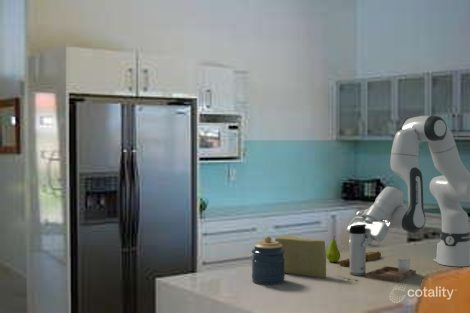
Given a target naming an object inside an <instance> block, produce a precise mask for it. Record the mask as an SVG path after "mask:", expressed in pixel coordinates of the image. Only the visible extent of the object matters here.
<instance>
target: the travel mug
mask: <svg viewBox="0 0 470 313" xmlns="http://www.w3.org/2000/svg"><path fill="white" fill-rule="evenodd" d="M365 225H366V224H364V225H353V226H350V234H349V240H350V243H349V259H350V265H349V274H350V275H352V276H365V273H367V272H366V268H367V267H366V266H367V265H366V264H367V263H366V262H367V261H366V253H367V251H366V248H367V247H366V248H364V247H362V246H361V243H362V242H364V241H365V240H366V238H365Z"/></svg>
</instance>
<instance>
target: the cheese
mask: <svg viewBox="0 0 470 313" xmlns="http://www.w3.org/2000/svg"><path fill="white" fill-rule="evenodd" d="M274 241H277V242H279V243H280V244H282V245H283V246H282V247H281V248H282V249H283V250H284V251H285V253H284V254H283V257H284V259H285V261H284V274H292V275H300V276H305V277H311V276H312V278H320V279H325V278H327V256H326V253H327V251H326V242H325V240H322V239H317V238H316V239H314V238H305V237H303V238H302V237H298V236H294V235H289V234H287V235H286V234H285V235H280V236H277V237H275V238H274Z"/></svg>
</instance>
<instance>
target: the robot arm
mask: <svg viewBox="0 0 470 313" xmlns="http://www.w3.org/2000/svg"><path fill="white" fill-rule="evenodd" d="M425 142H427V144H428V149H429V152H430V155H431V159H432V162H433V165H434V168H435V169H436V170H437V172H439V173H441V175H438V176H435V177H433V178H432V179H431V180H430V182H429V192H430V194H431V195H432V196H433V197H434V199H435V200H436V202H437V204H438V207H439V209H440V210H439V211H440V214H441V215H440V217H441V231H440V235H439V236H440V241H439V242H437V246H436V258H435V257H434V258H433V262H435V263H438V265H443V266H449V267H470V231H469V215H468V213H467V212H466V211H465V210H464V209H463V208H462V205H461V202H463V203H468V202H469V203H470V171H468V169H467V168H466V167H465V165H464V163H463V161H462V159H461V156H460V153H459V150H458V146H457V143H456V140H455V138H454V135H453V134H452V131H451V129H450V127H449V126H448V125H447V124H446V121H445V120H444V118H442V117H441V116H438V115H419V116H414V117H412V116H411V117H407V118H404V119H403V120H401V122H400V123H399V125H398V129H397V132H396V133H395V135H394V137H393V141H392V146H391V153H390V160H389V161H390V169H391V170H392V172H393V173H394V174H395V175H396V176H397V177H399V178H400V179H401V180H403V181H404V182H405V184H406V186H407V201H408V202H407V204H408V205H407V206H405V204H404V198H403V197H404V192H403V190H401V189H399V188H398V187H395V186H390V185H389V186H385V187H384V188H383V189H382V190H381V192H380V193H379V194H378V195H377V196H376V198H375V199H374V200H375V201H374V203H372V204H371V205H370V207H369V208H366V209H363V210H359V211H358V210H357V211H356V213H355V216H354V217H353V218H352V219H351V221H350V222H349V223H348V225H347V226H346V232H347V233H348V235H350V226H353V225H364V224H366V225H365V241H364V242H362V243H361V246H362V247H364V248H367V246H368V245H369V244H371V243H372V242H374V241H375V242H376V241H377V242H383V241H385V238H386V236H387V235H388V233H389V230H390V229H395V230H400V231H404V232H405V231H406V232H408V233H412V234H417V233H419V232H420V231H421V230H422V229H423V228H424V226H425V224H426V214H425V207H424V182H423V174H422V172H421V170H420V167H419V153H420V152H419V148H420V143H425ZM348 244H350V239H349V240H348Z"/></svg>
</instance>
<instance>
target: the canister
mask: <svg viewBox="0 0 470 313" xmlns="http://www.w3.org/2000/svg"><path fill="white" fill-rule="evenodd" d="M282 246H283V245H282V244H280V243H279V242H277V241H275V240H272V237H271V236H269V235H267V236H266V237H265V238H264V240H259V241H257V242H256V243H254V244H253V247H254V248H253V249H252V250H251V253H252V258H251V280H252V282H253V283H255V284H259V285H268V284H269V285H278V284H282V283H284V282H285V279H286V277H285V276H286V273H284V261H285V259H284V257H283V254H284V253H285V251H284V250H283V249H282V248H281V247H282Z"/></svg>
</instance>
